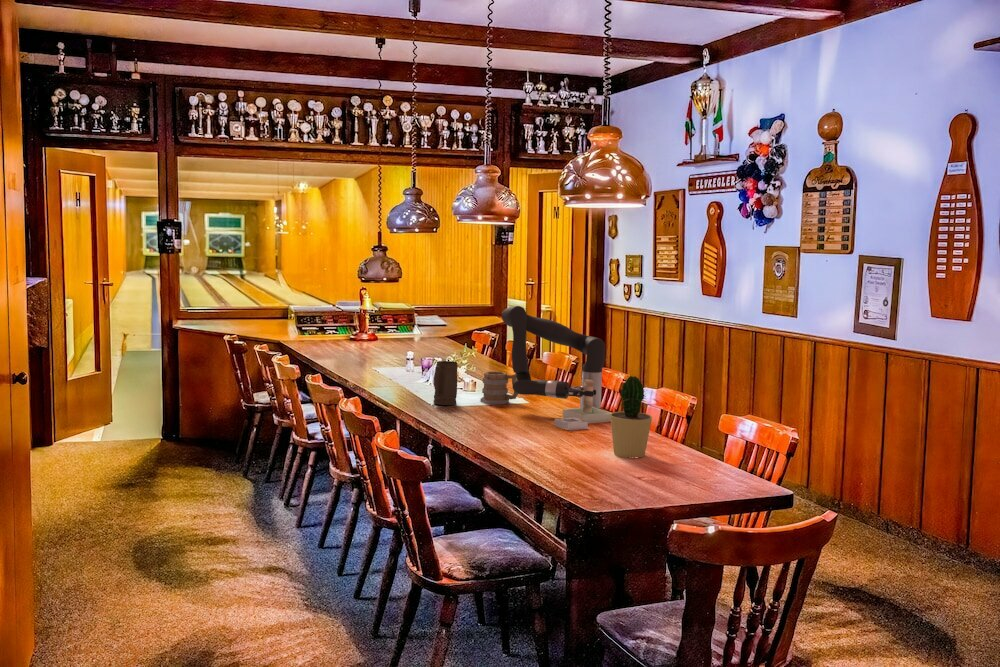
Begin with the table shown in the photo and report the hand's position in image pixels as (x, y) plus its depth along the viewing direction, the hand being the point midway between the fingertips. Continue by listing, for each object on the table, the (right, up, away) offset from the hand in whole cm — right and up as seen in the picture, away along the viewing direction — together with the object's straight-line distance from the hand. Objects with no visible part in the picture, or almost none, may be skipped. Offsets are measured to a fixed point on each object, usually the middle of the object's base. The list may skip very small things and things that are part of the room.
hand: (594, 393), depth 407 cm
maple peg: (-3, -8, +2) cm, 9 cm away
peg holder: (-12, -13, -16) cm, 24 cm away
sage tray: (-3, -11, +2) cm, 12 cm away
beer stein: (-68, -7, +25) cm, 72 cm away
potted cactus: (+6, -19, -62) cm, 65 cm away
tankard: (-40, -7, +36) cm, 54 cm away
